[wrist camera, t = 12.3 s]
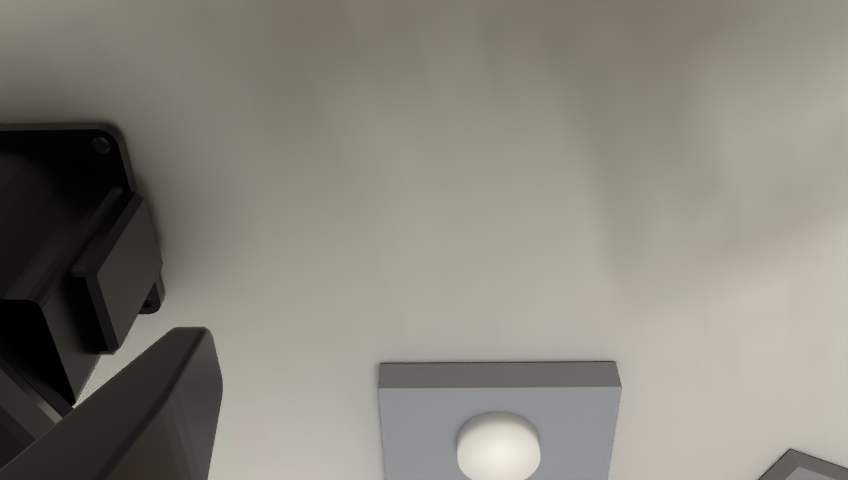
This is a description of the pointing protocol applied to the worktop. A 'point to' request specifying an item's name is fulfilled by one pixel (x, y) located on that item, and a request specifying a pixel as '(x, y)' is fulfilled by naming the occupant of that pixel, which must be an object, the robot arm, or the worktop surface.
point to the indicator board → (498, 420)
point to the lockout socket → (804, 469)
